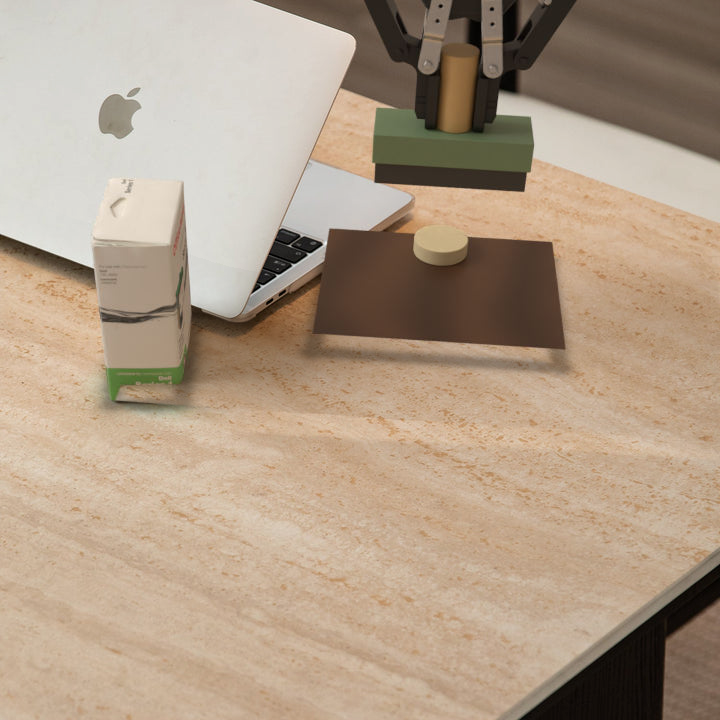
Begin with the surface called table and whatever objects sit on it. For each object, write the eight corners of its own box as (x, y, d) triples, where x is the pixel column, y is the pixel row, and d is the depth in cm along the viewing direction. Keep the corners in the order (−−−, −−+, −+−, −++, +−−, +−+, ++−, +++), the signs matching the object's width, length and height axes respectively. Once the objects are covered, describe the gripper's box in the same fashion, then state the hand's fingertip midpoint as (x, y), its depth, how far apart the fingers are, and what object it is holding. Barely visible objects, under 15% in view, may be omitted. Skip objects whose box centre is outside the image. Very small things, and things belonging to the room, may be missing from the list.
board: (549, 258, 95) (552, 241, 94) (562, 366, 84) (565, 348, 83) (328, 244, 96) (329, 227, 95) (312, 351, 84) (312, 332, 84)
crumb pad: (466, 239, 94) (468, 225, 93) (467, 267, 91) (468, 253, 90) (413, 236, 94) (415, 222, 94) (412, 264, 91) (413, 250, 90)
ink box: (183, 403, 79) (173, 244, 72) (105, 402, 79) (87, 243, 72) (194, 326, 86) (186, 174, 79) (122, 325, 86) (108, 173, 79)
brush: (524, 164, 82) (540, 42, 77) (527, 194, 79) (544, 68, 74) (373, 155, 82) (379, 32, 77) (370, 184, 79) (377, 58, 74)
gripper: (350, -153, 65) (340, 145, 76) (614, -138, 65) (568, 159, 75) (358, -187, 71) (348, 93, 82) (600, -173, 71) (559, 106, 81)
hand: (454, 123), depth 79 cm, fingers closed on brush, 2 cm apart
